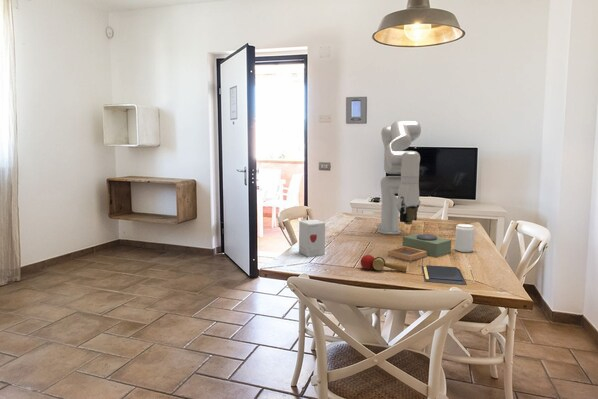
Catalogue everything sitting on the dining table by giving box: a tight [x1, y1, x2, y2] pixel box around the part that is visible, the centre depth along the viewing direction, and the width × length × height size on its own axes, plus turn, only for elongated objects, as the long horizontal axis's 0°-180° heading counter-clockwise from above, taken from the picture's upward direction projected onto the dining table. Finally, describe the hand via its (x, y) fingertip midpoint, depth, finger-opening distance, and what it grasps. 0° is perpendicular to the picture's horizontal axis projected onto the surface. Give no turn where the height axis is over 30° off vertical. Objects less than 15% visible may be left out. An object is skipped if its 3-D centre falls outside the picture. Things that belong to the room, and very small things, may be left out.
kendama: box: [360, 254, 408, 273], centre depth 166 cm, size 8×6×18 cm
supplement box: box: [298, 219, 326, 258], centre depth 189 cm, size 9×9×15 cm
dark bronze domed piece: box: [402, 206, 419, 226], centre depth 183 cm, size 8×7×8 cm
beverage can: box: [454, 223, 475, 253], centre depth 194 cm, size 8×8×12 cm
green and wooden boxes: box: [387, 232, 452, 263], centre depth 189 cm, size 18×27×7 cm, turn 130°
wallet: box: [421, 265, 468, 286], centre depth 160 cm, size 20×2×15 cm
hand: (408, 220), depth 183 cm, fingers closed on dark bronze domed piece, 6 cm apart
